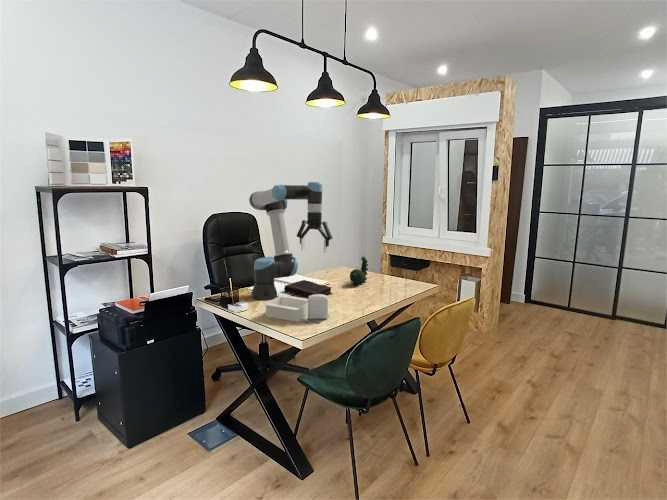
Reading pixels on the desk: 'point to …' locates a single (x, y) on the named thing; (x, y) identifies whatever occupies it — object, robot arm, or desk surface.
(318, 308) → the photo printer
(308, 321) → the mat
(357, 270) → the toy figurine
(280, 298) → the carton
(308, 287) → the diary
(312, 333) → the desk surface
